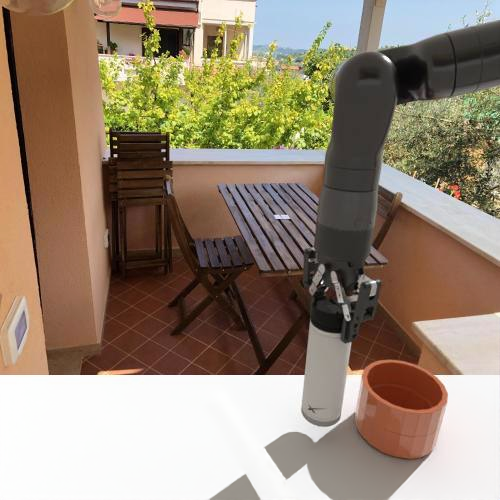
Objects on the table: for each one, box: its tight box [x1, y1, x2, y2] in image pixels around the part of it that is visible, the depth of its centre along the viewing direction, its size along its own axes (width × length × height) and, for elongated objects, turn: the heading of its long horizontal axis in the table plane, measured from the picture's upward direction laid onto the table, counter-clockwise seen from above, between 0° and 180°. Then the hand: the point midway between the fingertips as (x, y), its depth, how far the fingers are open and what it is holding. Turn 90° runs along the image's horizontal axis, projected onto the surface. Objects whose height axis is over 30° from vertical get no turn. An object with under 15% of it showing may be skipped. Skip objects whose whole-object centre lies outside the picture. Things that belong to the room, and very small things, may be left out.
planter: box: [354, 359, 449, 460], centre depth 69 cm, size 13×13×9 cm
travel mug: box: [300, 297, 355, 428], centre depth 64 cm, size 6×7×20 cm
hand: (331, 328), depth 62 cm, fingers closed on travel mug, 6 cm apart
